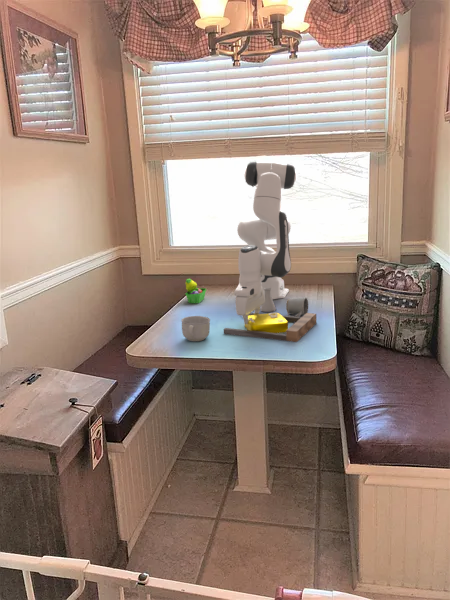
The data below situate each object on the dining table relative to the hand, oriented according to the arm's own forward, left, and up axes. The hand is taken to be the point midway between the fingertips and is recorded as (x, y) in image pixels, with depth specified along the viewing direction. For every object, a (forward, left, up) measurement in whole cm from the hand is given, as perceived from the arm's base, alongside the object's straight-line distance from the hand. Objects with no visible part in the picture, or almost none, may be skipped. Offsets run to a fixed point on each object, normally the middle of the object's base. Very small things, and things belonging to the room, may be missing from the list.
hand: (251, 320), depth 207 cm
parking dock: (0, +8, -3) cm, 9 cm away
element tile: (0, +6, -3) cm, 7 cm away
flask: (-24, -3, -3) cm, 24 cm away
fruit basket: (-29, -44, -3) cm, 53 cm away
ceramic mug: (-20, +12, -3) cm, 24 cm away
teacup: (+22, -14, -3) cm, 26 cm away
